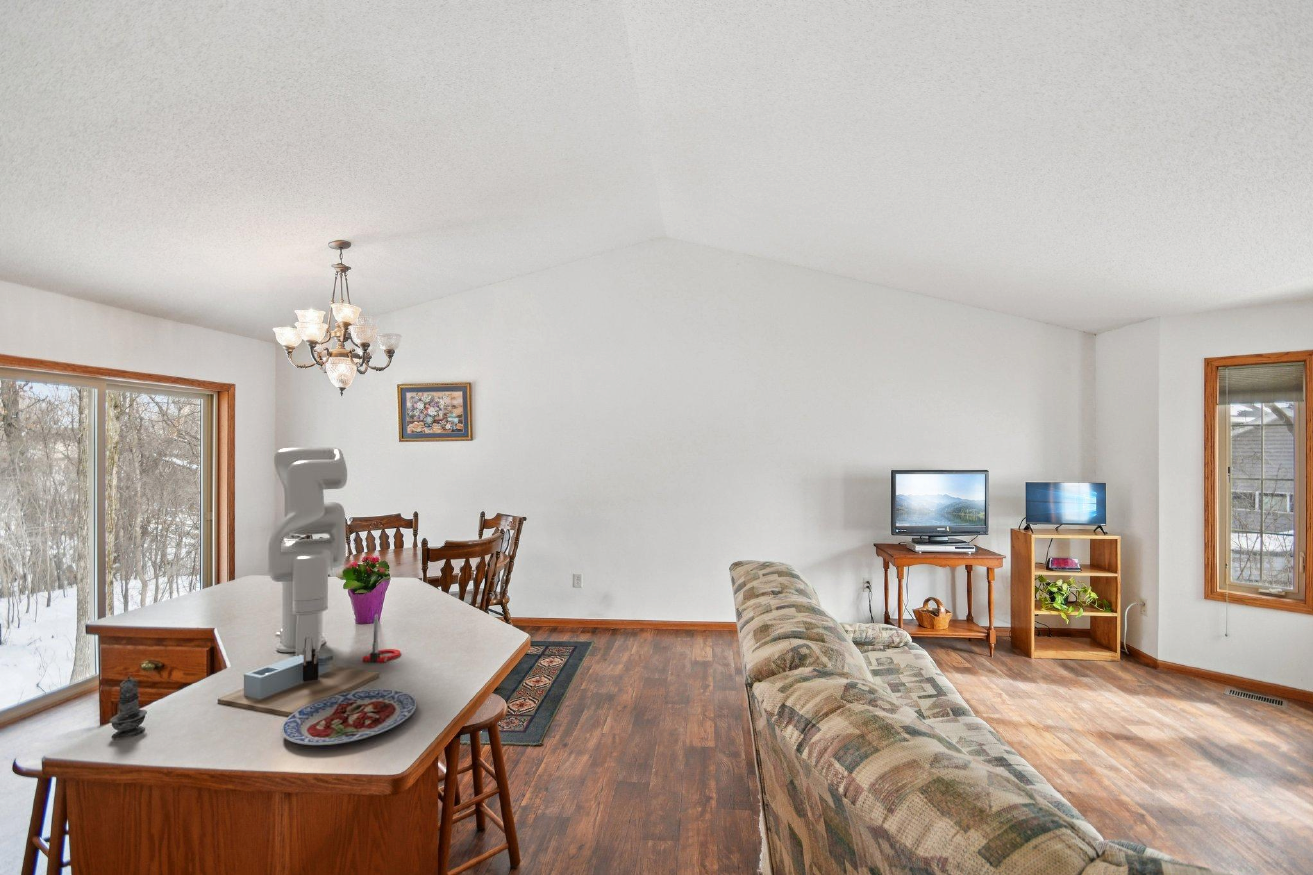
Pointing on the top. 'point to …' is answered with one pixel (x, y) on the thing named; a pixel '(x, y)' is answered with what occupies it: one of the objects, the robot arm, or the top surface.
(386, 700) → the ceramic plate
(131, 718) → the grey stone sculpture
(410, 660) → the top surface
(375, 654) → the tow hook
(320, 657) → the bracket
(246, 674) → the link
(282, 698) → the board
